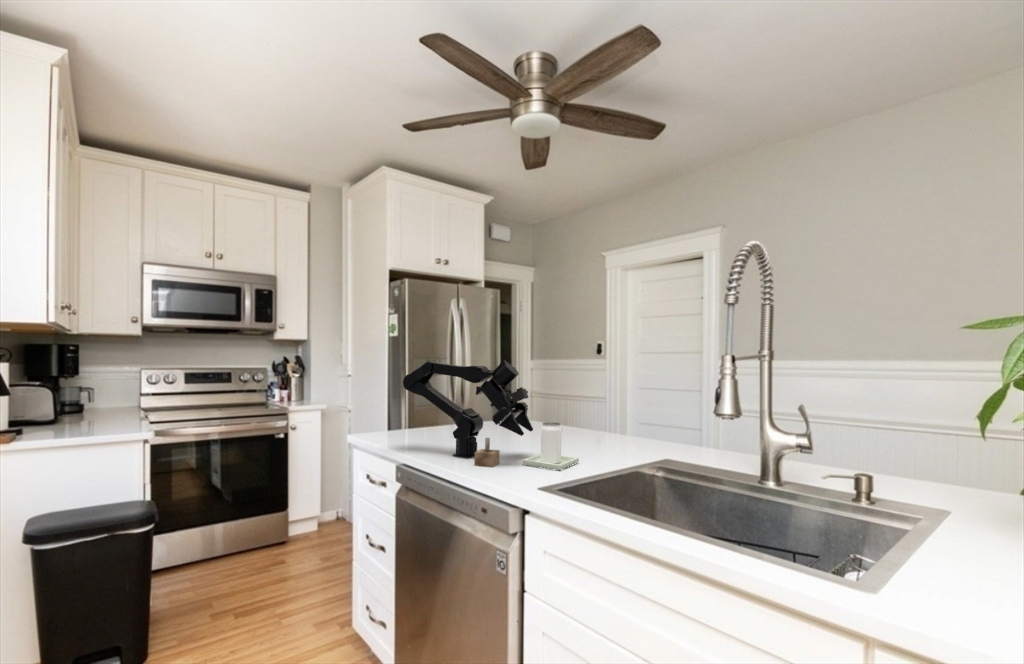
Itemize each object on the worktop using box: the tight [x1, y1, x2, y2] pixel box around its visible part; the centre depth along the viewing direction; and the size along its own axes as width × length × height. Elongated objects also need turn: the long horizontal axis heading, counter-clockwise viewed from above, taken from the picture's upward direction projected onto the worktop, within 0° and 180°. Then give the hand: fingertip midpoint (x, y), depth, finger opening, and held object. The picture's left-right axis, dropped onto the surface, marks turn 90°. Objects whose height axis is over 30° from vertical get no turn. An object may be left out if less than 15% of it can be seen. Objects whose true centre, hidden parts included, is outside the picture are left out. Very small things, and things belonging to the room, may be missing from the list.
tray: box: [522, 453, 580, 471], centre depth 153 cm, size 13×13×2 cm
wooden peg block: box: [474, 437, 501, 468], centre depth 152 cm, size 6×6×8 cm
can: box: [540, 421, 563, 464], centre depth 153 cm, size 6×6×12 cm
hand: (527, 432), depth 156 cm, fingers open, 9 cm apart
